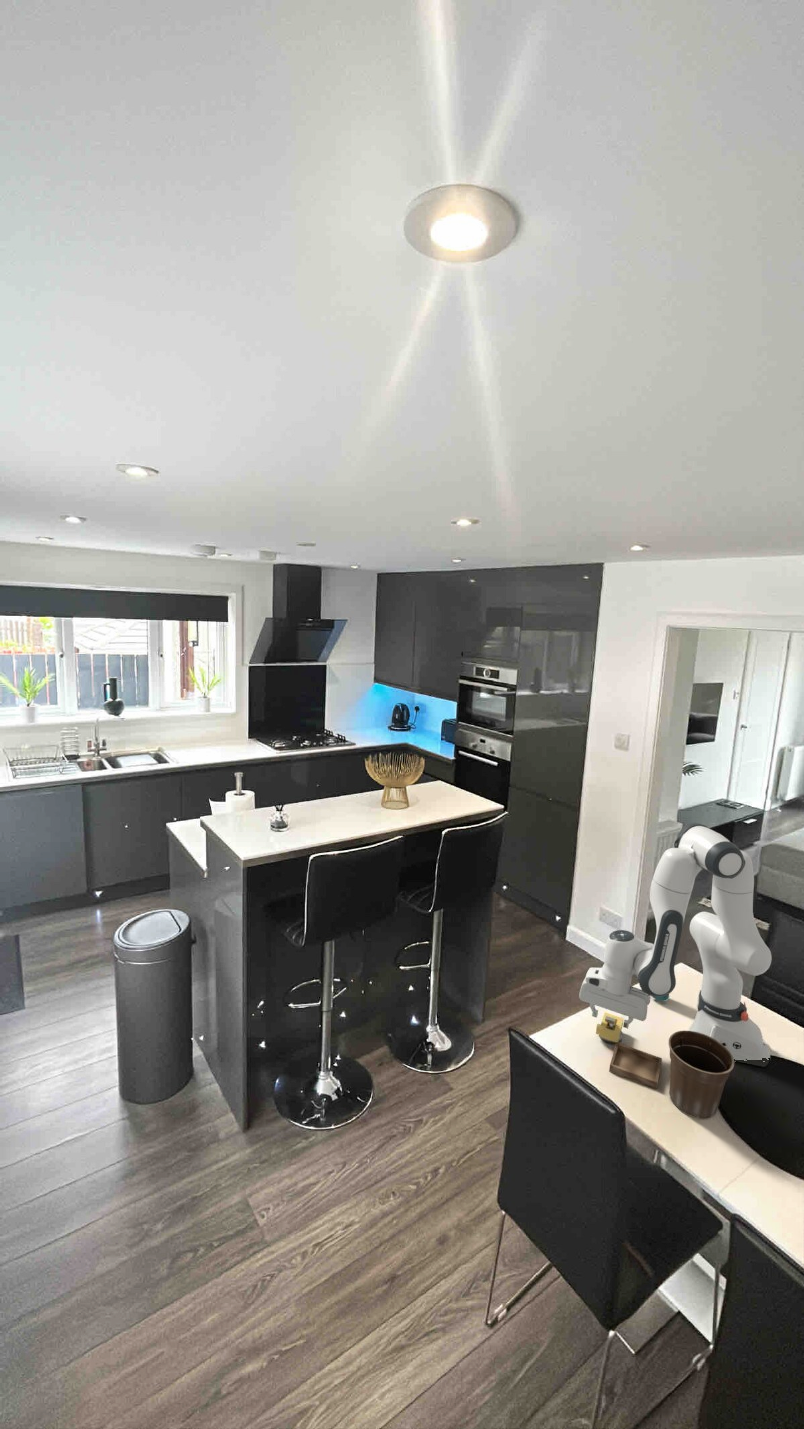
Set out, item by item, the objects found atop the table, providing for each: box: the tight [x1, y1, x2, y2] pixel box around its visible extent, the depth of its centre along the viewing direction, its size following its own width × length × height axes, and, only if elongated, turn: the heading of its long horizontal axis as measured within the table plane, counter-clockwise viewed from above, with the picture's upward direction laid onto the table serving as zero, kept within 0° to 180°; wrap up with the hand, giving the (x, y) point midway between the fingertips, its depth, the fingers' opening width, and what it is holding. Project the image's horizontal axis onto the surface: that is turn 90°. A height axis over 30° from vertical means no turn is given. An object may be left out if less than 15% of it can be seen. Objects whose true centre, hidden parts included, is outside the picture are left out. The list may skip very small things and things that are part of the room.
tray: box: [608, 1043, 663, 1090], centre depth 183 cm, size 13×11×2 cm
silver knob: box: [599, 1016, 624, 1046], centre depth 195 cm, size 7×7×6 cm
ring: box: [595, 1012, 624, 1043], centre depth 196 cm, size 7×9×3 cm
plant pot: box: [668, 1030, 735, 1120], centre depth 170 cm, size 16×16×16 cm
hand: (610, 1021), depth 194 cm, fingers open, 8 cm apart
